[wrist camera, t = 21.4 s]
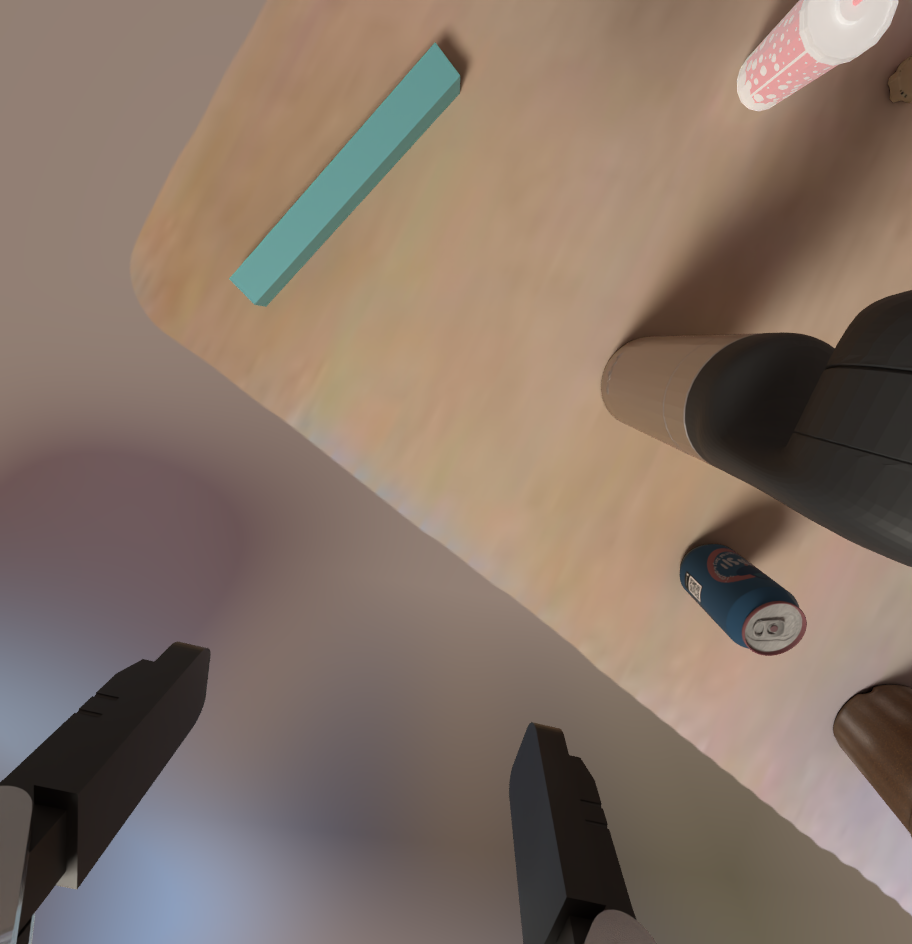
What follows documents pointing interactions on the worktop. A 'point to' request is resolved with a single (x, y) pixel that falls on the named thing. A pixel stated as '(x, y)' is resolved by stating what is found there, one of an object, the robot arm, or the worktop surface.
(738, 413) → the robot arm
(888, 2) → the beverage cup
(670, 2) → the worktop surface
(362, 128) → the teal bar
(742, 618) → the soda can
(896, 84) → the handle
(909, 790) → the plant pot
